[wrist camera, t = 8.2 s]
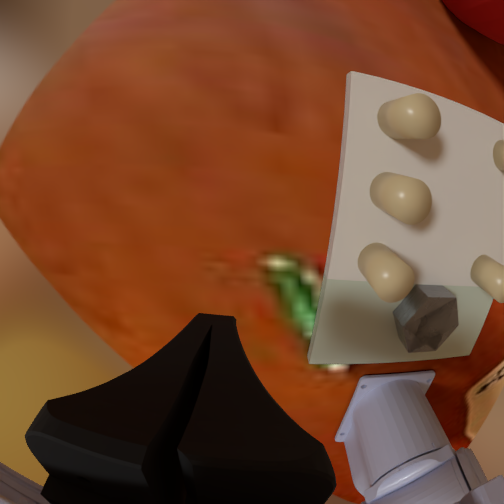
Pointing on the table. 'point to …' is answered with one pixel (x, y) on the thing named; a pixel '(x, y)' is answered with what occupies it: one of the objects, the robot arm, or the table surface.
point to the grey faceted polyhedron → (426, 318)
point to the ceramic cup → (481, 16)
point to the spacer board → (430, 164)
